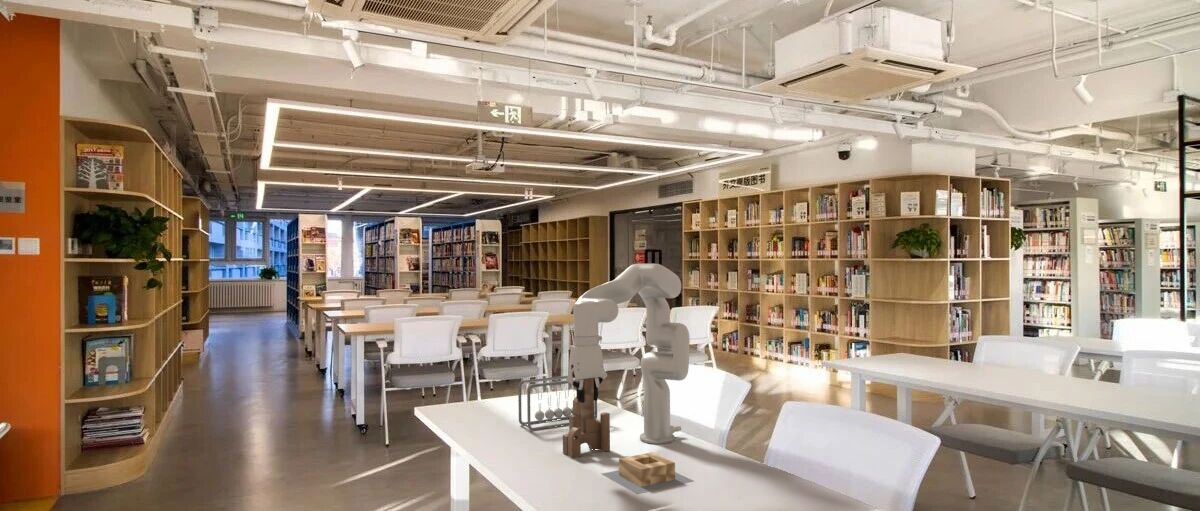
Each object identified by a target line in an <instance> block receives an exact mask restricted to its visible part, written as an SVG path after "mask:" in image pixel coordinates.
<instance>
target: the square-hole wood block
mask: <svg viewBox="0 0 1200 511" xmlns="http://www.w3.org/2000/svg"><path fill="white" fill-rule="evenodd" d="M618 470H619V475H620V476H622V477H624V478H625V479H627V480H629V481H631V482H633V483H635V484H637V485H638V486H640V487H644V486H648V485H653V484H657V483H661V482H666V481H670V480H675V472H676V463H675V462H674V461H672V460H671V459H667V458H665V457H663V456H661V455H659V454H656V453H654V452H646V453H641V454H637V455H636V454H635V455H631V456H626V457H620V458H618Z"/></svg>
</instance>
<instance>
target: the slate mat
mask: <svg viewBox="0 0 1200 511" xmlns="http://www.w3.org/2000/svg"><path fill="white" fill-rule="evenodd" d="M601 475H602V476H604V477H606V478H608V479H609V480H611V481H612V482H615V483H616V484H619V485H620V486H622V487H624V488H625V489H628V490H629V491H631V492H633V493H634V494H636V495H640V494H643V493H648V492H652V491H657V490H661V489H665V488H666V489H667V488H670V487H674V486H675V487H676V486H679V485H684V484H688V483H693V482H694V480H693V479H692V478H688V477H686V476H685V475H682V474H681V473H678V472H677V471H675V480H670V481H666V482H661V483H657V484H653V485H648V486H644V487H640V486H638V485H637V484H635V483H633V482H631V481H629V480H627V479H625V478H624V477H622V476H620V475H619V469H617V470H612V471H608V472H603V473H602V472H601Z"/></svg>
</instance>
